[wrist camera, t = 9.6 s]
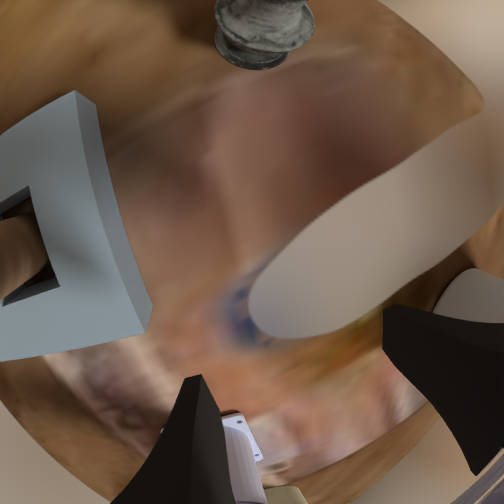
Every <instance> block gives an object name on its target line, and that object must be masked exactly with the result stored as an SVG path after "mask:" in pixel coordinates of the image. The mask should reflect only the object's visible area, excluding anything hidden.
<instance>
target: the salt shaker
mask: <svg viewBox="0 0 504 504" xmlns="http://www.w3.org/2000/svg"><path fill="white" fill-rule="evenodd" d="M306 1H307V0H217V1H216V3H215V5H214V17H215V20H216V23H217V25H218V26H217V29H216V31H215V38H214V41H215V45H216V48H217V50H218V51H219V53H220V54H221V55H222V56H223V57H224V58H225V59H226V60H227V61H229V62H230V63H232V64H234V65H236V66H238V67H241V68H245V69H249V70H265V69H270V68H273V67H275V66H278V65H279V64H281V63H282V62H283V61H285V59H286V58H287V57H288V55H289V54H290V51H291V50H294V49H297V48H299V47H301V46H302V45H304V44H305V43H307V42H308V40H309V39H310V38H311V36H312V35H313V32H314V28H315V21H314V16H313V14H312V12H311V9H310V8H309V7H308V5H307V4H306V3H305V2H306Z"/></svg>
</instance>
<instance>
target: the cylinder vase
mask: <svg viewBox="0 0 504 504" xmlns="http://www.w3.org/2000/svg"><path fill="white" fill-rule="evenodd" d="M433 313H435V314H439V315H443V316H447V317H452V318H457V319H463V320H468V321H476V322H487V323H504V280H503V279H500V278H498V277H496V276H494V275H491V274H489V273H487V272H484V271H482V270H480V269H476V268H472V269H468V270H466V271H464V272H462V273H461V274H459V275H458V276H457V277H456V278H455V279H454V280H453V281H452V282H451V283H450V284H449V286H448V287H447V288H446V290H445V291H444V293H443V294H442V296H441V297H440V299H439V301H438V303H437V304H436V306H435V308H434V310H433Z"/></svg>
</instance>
